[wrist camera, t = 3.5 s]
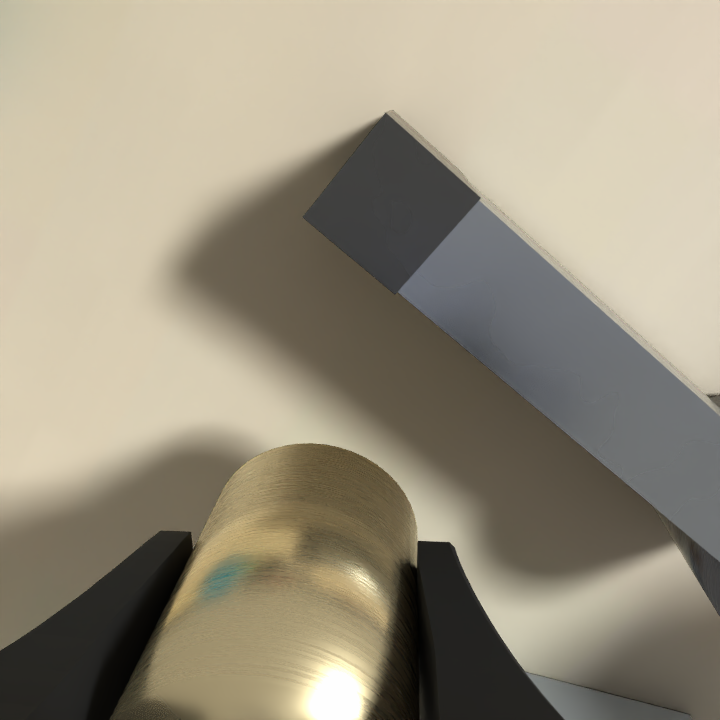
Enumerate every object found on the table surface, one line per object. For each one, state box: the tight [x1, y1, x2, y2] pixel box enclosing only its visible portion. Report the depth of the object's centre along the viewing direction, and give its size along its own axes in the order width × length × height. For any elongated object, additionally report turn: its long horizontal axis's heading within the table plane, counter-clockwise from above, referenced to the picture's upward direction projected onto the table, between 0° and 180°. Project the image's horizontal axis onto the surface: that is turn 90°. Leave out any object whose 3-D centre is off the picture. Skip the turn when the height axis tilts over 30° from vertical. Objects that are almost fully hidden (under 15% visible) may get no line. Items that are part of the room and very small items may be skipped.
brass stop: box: [110, 443, 420, 720], centre depth 12 cm, size 4×4×6 cm
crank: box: [303, 110, 720, 616], centre depth 14 cm, size 14×4×5 cm, turn 50°
